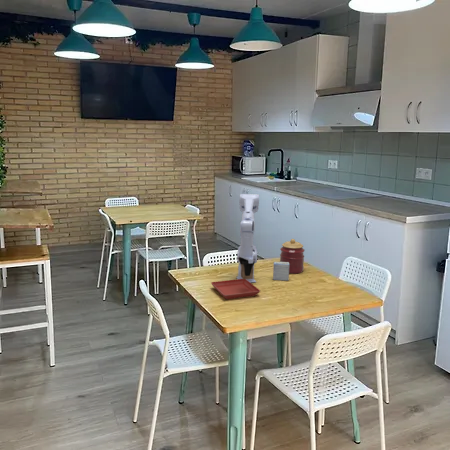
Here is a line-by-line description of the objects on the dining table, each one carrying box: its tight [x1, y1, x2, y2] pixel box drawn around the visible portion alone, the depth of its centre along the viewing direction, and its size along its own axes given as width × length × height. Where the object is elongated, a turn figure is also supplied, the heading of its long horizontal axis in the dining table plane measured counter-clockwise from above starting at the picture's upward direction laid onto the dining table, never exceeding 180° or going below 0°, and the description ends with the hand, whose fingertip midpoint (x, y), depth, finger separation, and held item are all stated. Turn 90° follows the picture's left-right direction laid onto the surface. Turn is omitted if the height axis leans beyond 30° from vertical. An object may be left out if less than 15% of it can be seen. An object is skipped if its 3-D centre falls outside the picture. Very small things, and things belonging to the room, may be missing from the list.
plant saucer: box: [210, 278, 261, 300], centre depth 211 cm, size 18×18×3 cm
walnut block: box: [241, 264, 253, 279], centre depth 211 cm, size 4×4×6 cm
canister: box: [279, 238, 305, 274], centre depth 244 cm, size 13×13×18 cm
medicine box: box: [272, 261, 290, 281], centre depth 230 cm, size 8×4×9 cm, turn 84°
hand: (245, 273), depth 211 cm, fingers closed on walnut block, 4 cm apart
